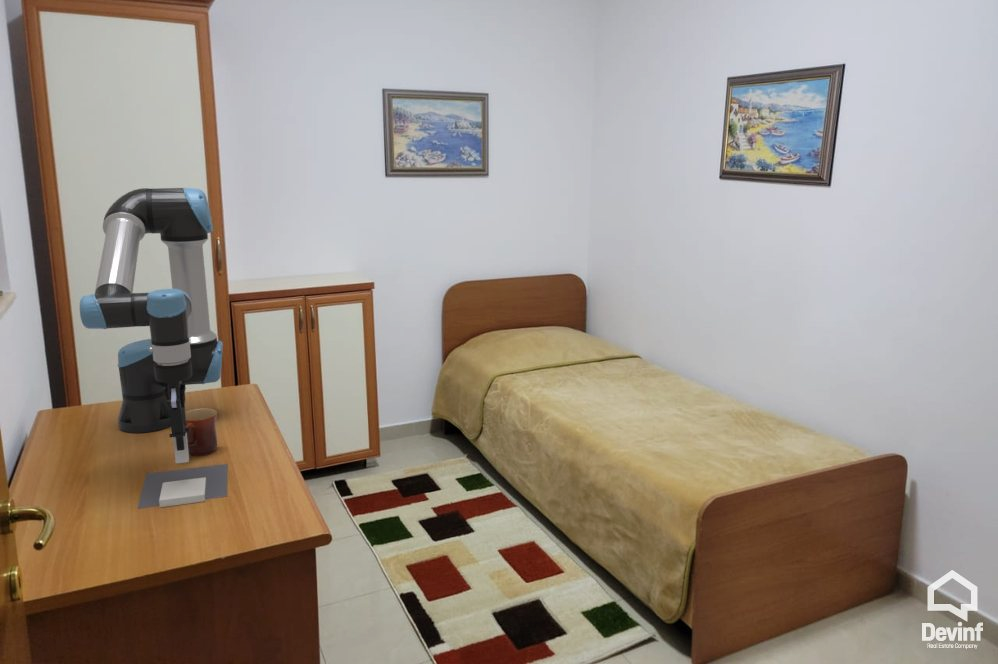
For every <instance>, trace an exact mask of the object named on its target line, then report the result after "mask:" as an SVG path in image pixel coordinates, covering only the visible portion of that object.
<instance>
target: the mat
mask: <svg viewBox="0 0 998 664" xmlns="http://www.w3.org/2000/svg"><path fill="white" fill-rule="evenodd" d="M228 465H229V464H228V463H224V464H215V465H206V466H196V467H190V468H181V469H173V470H166V471H165V470H164V471H158V472H157V471H156V472H148V473H145V474H146V475H145V479H144V482H143V485H142V488H141V494H140V497H139V500H138V503H137V504H138V505H137V509H145V508H147V509H148V508H152V507H153V508H155V507H160V504H159V499H160V494H161V489H162V485H163V483H164V482H172V481H180V480H188V479H196V478H204V477H206V495H205V501H206V500H211V499H217V498H218V499H220V498H226V497H228V467H229V466H228Z"/></svg>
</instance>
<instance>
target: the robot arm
mask: <svg viewBox="0 0 998 664" xmlns="http://www.w3.org/2000/svg"><path fill="white" fill-rule="evenodd" d="M213 231H214V225H213V219H212V215H211V209H210V206H209V202H208V198H207V196H206V193H205V192H204V191H203V190H202V189H200V188H191V187H190V188H189V187H170V188H168V187H167V188H166V187H164V188H163V187H161V188H144V187H142V188H137V189H133V190H131V191H128V192H126V193H125V194H122V196H120V197H119V198H117V199H116V200H115V201H114V202H113V203H112V204H111V205H110V207H109V208H108V210H107V211H106V213H105V215H104V219H103V222H102V232H103V233H104V234H105V236H104V243H103V247H102V248H103V249H102V251H101V259H100V263H99V269H98V275H97V280H96V285H95V290H94V294H93V293H91V294H87V295H83V296H82V297H81V298H80V300H79V301H80V302H79V316H80V320H81V324H82V325H83V326H84V328H86V329H90V330H92V329H101V330H102V329H103V330H107V329H108V330H109V329H120V328H132V327H133V328H135V327H149V333H150V338H147V339H142V340H137V341H134V342H130V343H128V344H125V345H124V346H122V347H121V348H120V349H119V350H118V352H117V363H118V364H117V368H118V372H119V379H120V388H121V396H122V401H121V406H120V410H119V413H118V417H117V422H118V428H119V430H120V431H123V432H126V433H133V434H136V433H137V434H138V433H141V434H143V433H150V432H151V433H152V432H155V431H157V432H158V431H161V430H163V429H166V428H169V427H170V430H171V433H169V435H168V436H169V438H172V439H173V448H174V449H173V450H174V460H175V461H174V462H175V464H184V463H189V462H190V454H189V452H188V442H187V433H186V432H188V431H190V428H186V425H187V422H186V416H185V412H186V388H187V387H186V386H189V385H205V384H209V383H216V382H218V381H220V379H221V376H222V366H223V364H222V363H223V350H224V348H223V347H224V342H223V341H221V340H218V337H217V334H216V333H215V332H214V331H213V330H211V325H210V314H209V313H210V311H209V303H208V300H209V299H208V291H207V280H206V278H207V277H206V269H205V268H206V267H205V258H204V257H205V256H204V248H203V246H204V244H205V243H206V242H207V241H208V240H209V234H210V233H213ZM146 234H152V235H153V234H160V241H161V242H162V243H163V244H164V245H166V246H167V249H168V250H167V251H168V260H169V269H170V270H169V271H170V278H171V279H170V280H171V288H164V289H155V290H153V291H150V292H133V291H134V286H135V285H134V284H135V277H136V270H137V262H138V255H139V248H140V241H142V240H143V239H144V237H145V235H146Z"/></svg>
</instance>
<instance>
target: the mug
mask: <svg viewBox="0 0 998 664" xmlns="http://www.w3.org/2000/svg"><path fill="white" fill-rule="evenodd" d="M185 416H186V422H187V425H186V428H190V431H188V432H186V433H187V442H188V452H189V456H192V457H201V456H206V455H207V456H208V455H210V454H212V453H214V452H216V450H217V448H218V438H217V437H218V436H217V428H216V427H217V426H216V421H217V417H218V411H217V410H216V409H213V408H210V407H209V408H207V407H206V408H205V407H202V408H193V409H190V410H185Z"/></svg>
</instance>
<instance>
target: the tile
mask: <svg viewBox="0 0 998 664" xmlns="http://www.w3.org/2000/svg"><path fill="white" fill-rule="evenodd" d="M205 495H206V477H204V478H196V479H188V480H180V481H172V482H164V483H163V485H162V489H161V494H160V499H159V504H160V506H159V508H165V507H172V506H179V505H181V506H182V505H188V504H195V503H201V502H202V503H203V502H206V500H205Z"/></svg>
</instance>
